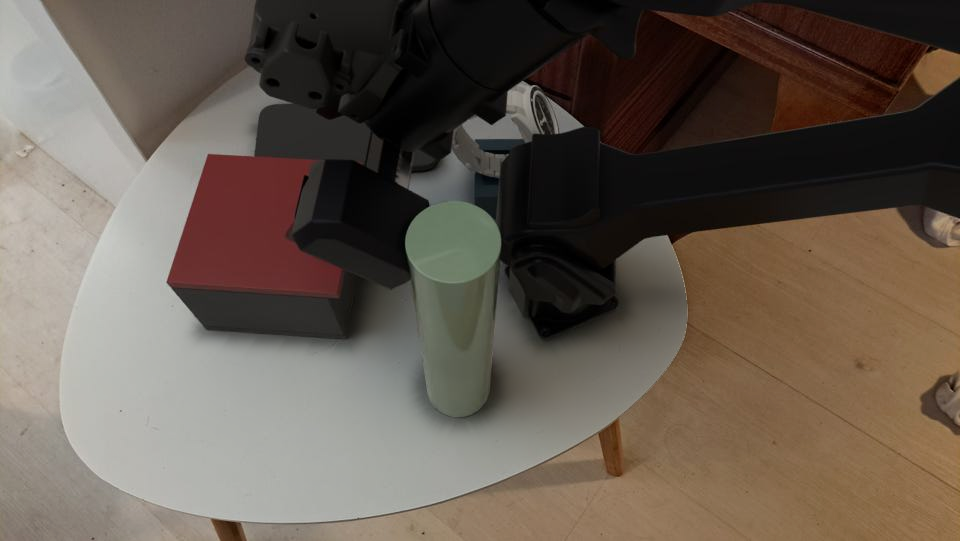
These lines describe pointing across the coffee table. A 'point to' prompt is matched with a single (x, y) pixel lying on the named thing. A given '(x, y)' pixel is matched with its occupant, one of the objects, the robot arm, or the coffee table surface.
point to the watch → (503, 142)
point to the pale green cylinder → (455, 301)
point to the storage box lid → (249, 231)
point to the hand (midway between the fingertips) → (308, 173)
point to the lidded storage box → (272, 311)
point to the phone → (316, 137)
